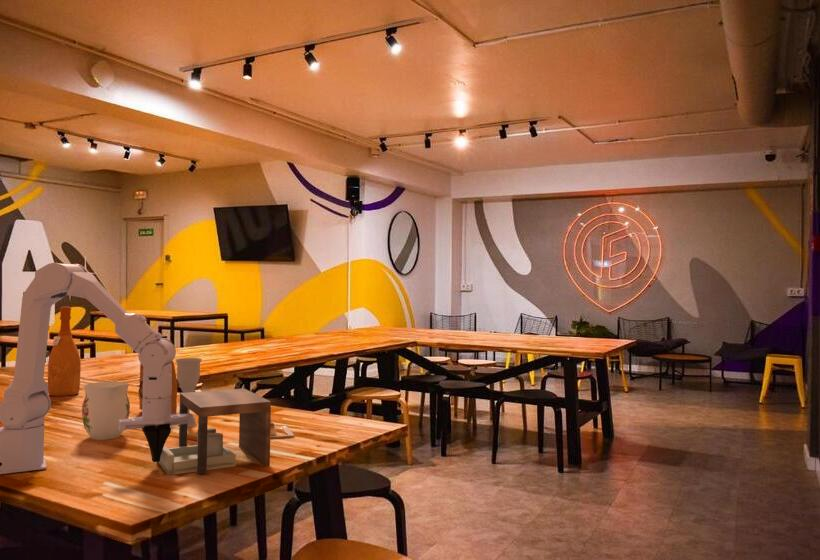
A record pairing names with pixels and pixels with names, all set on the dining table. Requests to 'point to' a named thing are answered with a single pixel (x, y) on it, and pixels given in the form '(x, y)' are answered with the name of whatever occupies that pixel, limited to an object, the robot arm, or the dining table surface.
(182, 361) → the chalice
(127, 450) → the dining table surface
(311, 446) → the dining table surface
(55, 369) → the wine bottle
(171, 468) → the tray
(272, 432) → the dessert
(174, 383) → the coffee package
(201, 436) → the miniature side table
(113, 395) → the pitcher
